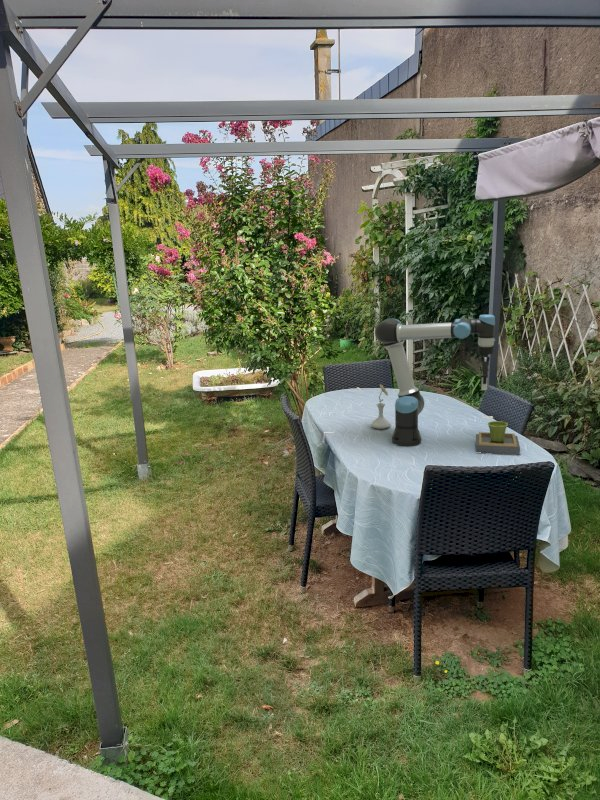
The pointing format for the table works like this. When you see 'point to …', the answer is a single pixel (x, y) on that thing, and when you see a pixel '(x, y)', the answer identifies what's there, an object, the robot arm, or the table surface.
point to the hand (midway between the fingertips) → (484, 386)
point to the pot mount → (497, 444)
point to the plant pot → (497, 430)
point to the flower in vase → (381, 414)
